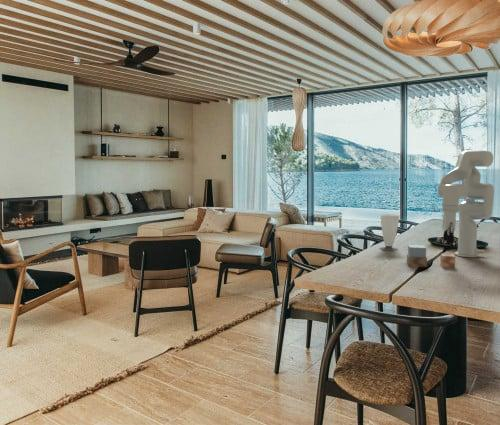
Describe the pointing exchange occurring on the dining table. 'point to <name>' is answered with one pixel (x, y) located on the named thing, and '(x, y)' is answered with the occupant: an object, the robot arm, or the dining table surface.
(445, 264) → the terracotta cube
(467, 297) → the dining table surface
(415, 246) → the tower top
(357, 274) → the dining table surface
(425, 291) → the dining table surface
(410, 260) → the tower base
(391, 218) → the cup
